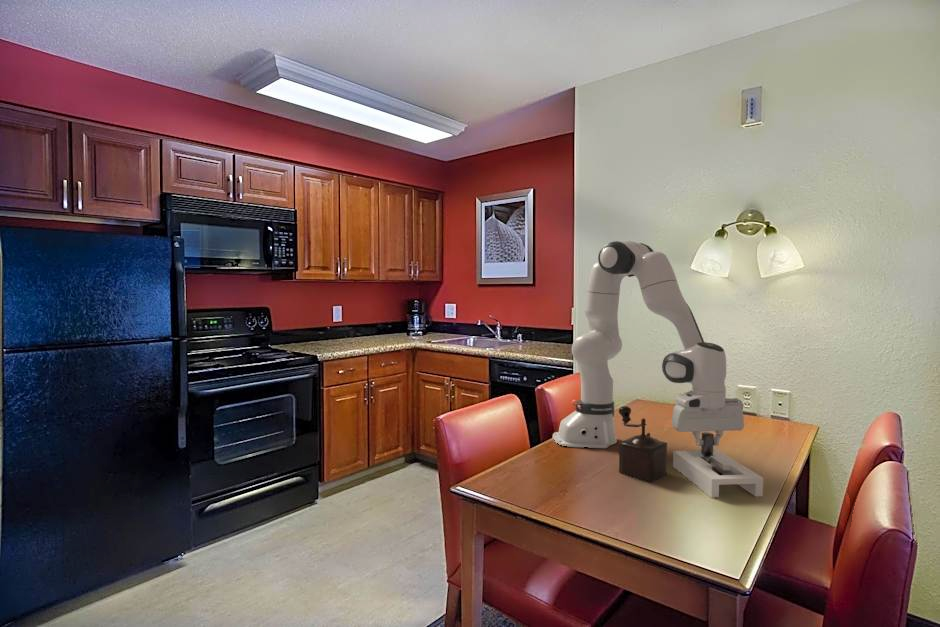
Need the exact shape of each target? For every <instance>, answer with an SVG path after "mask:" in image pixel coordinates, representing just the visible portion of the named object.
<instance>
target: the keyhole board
mask: <svg viewBox="0 0 940 627" xmlns="http://www.w3.org/2000/svg"><path fill="white" fill-rule="evenodd" d="M672 455H673V457H672V467H673V468H674V469H675V470H676V469H677V470H676V471H677V472H679V473H680V472H681V473H682V474H683V475H682V474H681V473H680V474H681V475H682V476H684V477H685V478H686V477H687V478H688V481H690V482H691V481H692V482H693V483H692V482H691V483H692V484H694V485H695V484H696V485H697V486H698V489H700V490H701V491H702V490H703V491H704V492H703V491H702V492H703V493H705V494H706V495H707V494H708V495H709V496H708V495H707V496H708V497H710V498H711V499H713V498H714V499H716V498H715V497H718V498H719V497H720V496H719V495H720V486H724V485H738V486H739V487H741V488H742V489H743V490H745V491H747V492H748V493H750V494H751V495H752V496H753V497H755V498H756V497H763V496H764V495H763V494H764V477H762V476H761V475H759V474H758V473H757V472H755V471H753V470H751V469H750V468H748V467H746V466H744V465H743V464H742V463H740V462H739V461H736V460H735V459H734V458H732V457H730V456H729V455H727V454H726V453H723V452H722V451H720V450H719V449H713V456H711V464H709V463H708V462H706V461H705V460H703V455H702V454H701V449H699V450H698V449H697V450H696V449H694V450H673V454H672ZM712 466H713V467H715V468H716V472H714V471H713V470H712ZM718 472H719V473H721V474H722V475H720V474H719V473H718ZM687 478H686V479H687ZM696 485H695V486H696ZM697 486H696V487H697ZM718 498H717V499H718Z"/></svg>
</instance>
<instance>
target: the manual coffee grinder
mask: <svg viewBox="0 0 940 627" xmlns="http://www.w3.org/2000/svg"><path fill="white" fill-rule="evenodd" d="M618 413H619V415H621V417H622V418H621V419H622V420H621V421H622V422H623V426H624V427H628V428H629V427H630V428H639V427H641V434H638V435H634V436H631V437H630V438H627V439H625V440H623V441H620V442H619V444H618V446H619V450H618V451H619V453H618V454H619V457H618V465H619V466H618V469H619V470H618V473H619V472H620V473H619V474H621V473H622V475H624V474H625V475H624V476H627V475H628V476H627V477H630V476H631V477H630V478H633V477H635V478H634V479H636V478H638V479H637V480H640V479H641V480H640V481H644V480H645V481H644V482H647V481H648V483H652V481H653V482H655V481H657V480H659V479H660V478H662V477H663V475H664V476H666V475H667V471H668V470H667V468H668V466H667V465H668V462H667V461H668V442H665V441H661V440H659V439H657V438H655V437H652V436H651V433H650V432H648V433H647V434H646V426H647V424H646V419H645V418H641V419H640V421H641V422H640V423H636V424H635V423H629V422H630V421H632V418H631V417H630V415H631V413H632V409H631V407H630V406H627V405H626V406H624V405H623V406H621V407H619V409H618ZM661 476H662V477H661ZM656 479H657V480H656ZM654 480H655V481H654Z"/></svg>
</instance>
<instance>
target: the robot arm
mask: <svg viewBox="0 0 940 627" xmlns="http://www.w3.org/2000/svg"><path fill="white" fill-rule="evenodd" d="M625 277H628V278H631V277H636V279H637V282H638V285H639V287H640V292H641V296H642V299H643V301H644V304H645V306H646V307H647V309H648V310H649V311H650V312H652V313H653V314H655V315H658V316H661V317H663V318H665V319H666V320H668V321H670V322H671V324H673V326H674V327H675V328H676V331H677V333H678V336H679V338H680V341H681V343H682V346H683V348H684V349H682V350H679V351H677V350H676V351H674V352H671V353H668V354H666V355H665V356H664V358H663V361H662V363H661V370H662V374H663V375H664V377H665V378H666V379H667V380H668V381H669V382H671V383H675V384H685V383H687V384H691V386H692V389H691V390H690V391H687V392H684V393H681V394H678V395H676V396H675V400H674V401H675V402H676V403H677V404H676V405H674V407H673V410H672V416H671V426H672V428H673V429H674V430H676V431H677V432H679V433H683V432H684V433H685V432H686V433H689V432H692V436H693V437H694V439H695V445H696V446H697V447H701V446H703V445H704V444H703V443H704V440H702V438H701V437H700V435H701V432H714V433H715V435H714V443H713V447H714V446H715V447H717V446H718V447H719V445H720V440H721V438H722V437H723V435H724V432H726V431H728V432H729V431H731V432H732V431H733V432H734V431H743V429H744V427H745V420H744V403H743V400H741V399H739V398H737V397H734V398H727V397H726V396H727V394H726V393H727V392H726V391H727V389H726V385H725V382H726V381H725V380H726V377H727V357H726V352H725V349H724V348H723V347H722V346H720V345H719V344H717V343H716V344H715V343H712V342H706V341H705V340H704V338H703V336H702V333H701V331H700V329H699V326H698V323H697V320H696V318H695V316H694V314H693V312H692V310H691V307H690V306H689V305H688V303H687V302H686V299H685V298H684V296H683V294H682V291H681V289H680V287H679V283H678V280H677V276H676V273H675V271H674V268H673V267H672V264H671V263H670V259H669V258H668V257H667V255H666V254H665V253H663V252H661V251H654V250H653V248H652V247H651V246H650V245H647V244H646V243H643V242H636V241H617V240H616V241H611V242H608V243H606V244H604V245H603V246H602V247H601V248H600V250H599V252H598V257H597V262H595V263H594V264H593V265H592V267H591V270H590V273H589V278H588V283H587V289H586V298H585V309H584V314H585V316H586V318H587V321H588V327H589V330H588V331H589V332H586V333H583V334H581V335H579V336H578V337H577V338H576V339H575V340H574V341H573V343H572V344H571V355H572V357H573V358H574V361H576V362H577V366H578V370H579V371H578V372H579V376H580V399H579V400H577V399H572V401H571V404H572V406H574V407H575V408H574V409H575V410H574V411H573V412H571V413H569V415H567V416H566V417H564V418H563V419H561V421H560V423H559V428H558V431H555V432H553V433H552V440H553V439H554V440H555V441H554V440H553V441H554V442H555V444H557V443H558V444H559V446H560V445H562V446H561V447H563V446H567V447H566V448H584V447H588V448H592V449H607V448H609V447H610V446H612V445H614V444H616V443H617V442H618V439H617V436H616V432H615V423H614V417H615V401H614V379H613V377H612V376H611V373H610V370H609V363H608V361H610V360H612V359H614V358H615V357H617V355H619V354H620V352H621V350H622V348H623V342H622V339H621V336H620V331H619V322H618V318H619V317H618V313H619V304H620V303H619V302H620V292H621V284H622V281H623V279H624V278H625ZM558 444H557V445H558ZM588 448H587V449H588Z"/></svg>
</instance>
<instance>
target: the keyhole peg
mask: <svg viewBox="0 0 940 627" xmlns="http://www.w3.org/2000/svg"><path fill="white" fill-rule="evenodd" d="M714 436H715V435H714V433H712V432H709V431H702V432H701V439H702V440H704V443H703V444H704V445H703V446H700V450H701V454H702V455H703V460H705V461H706V462H708V463H709V464H711V456H713V450H714V446H713V443H714ZM712 470H713V471H714V472H716V473H717V470H716V468H715V467H713V466H712Z"/></svg>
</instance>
